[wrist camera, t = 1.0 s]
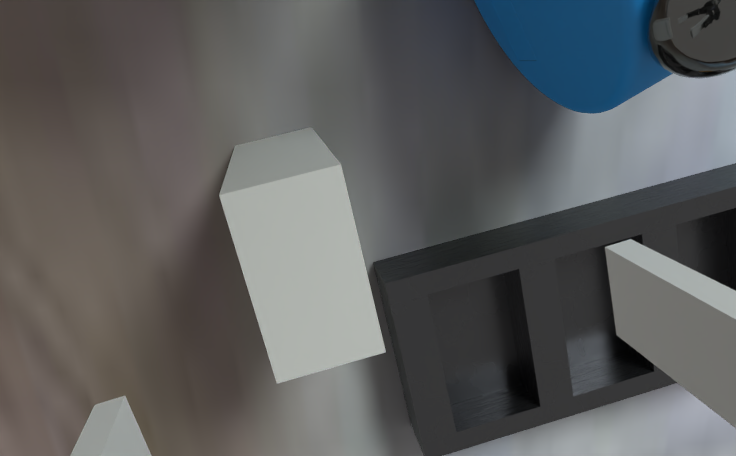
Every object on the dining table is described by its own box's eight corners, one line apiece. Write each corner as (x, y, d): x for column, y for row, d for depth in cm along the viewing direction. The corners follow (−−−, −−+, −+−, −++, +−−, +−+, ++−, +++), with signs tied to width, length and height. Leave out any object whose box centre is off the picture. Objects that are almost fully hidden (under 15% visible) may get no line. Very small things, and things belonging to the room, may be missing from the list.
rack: (373, 262, 33) (386, 285, 30) (743, 161, 36) (795, 171, 32) (412, 429, 37) (428, 467, 33) (749, 326, 39) (796, 352, 35)
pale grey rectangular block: (233, 146, 30) (217, 195, 19) (312, 126, 31) (342, 164, 19) (270, 271, 32) (275, 384, 21) (343, 251, 33) (387, 351, 21)
